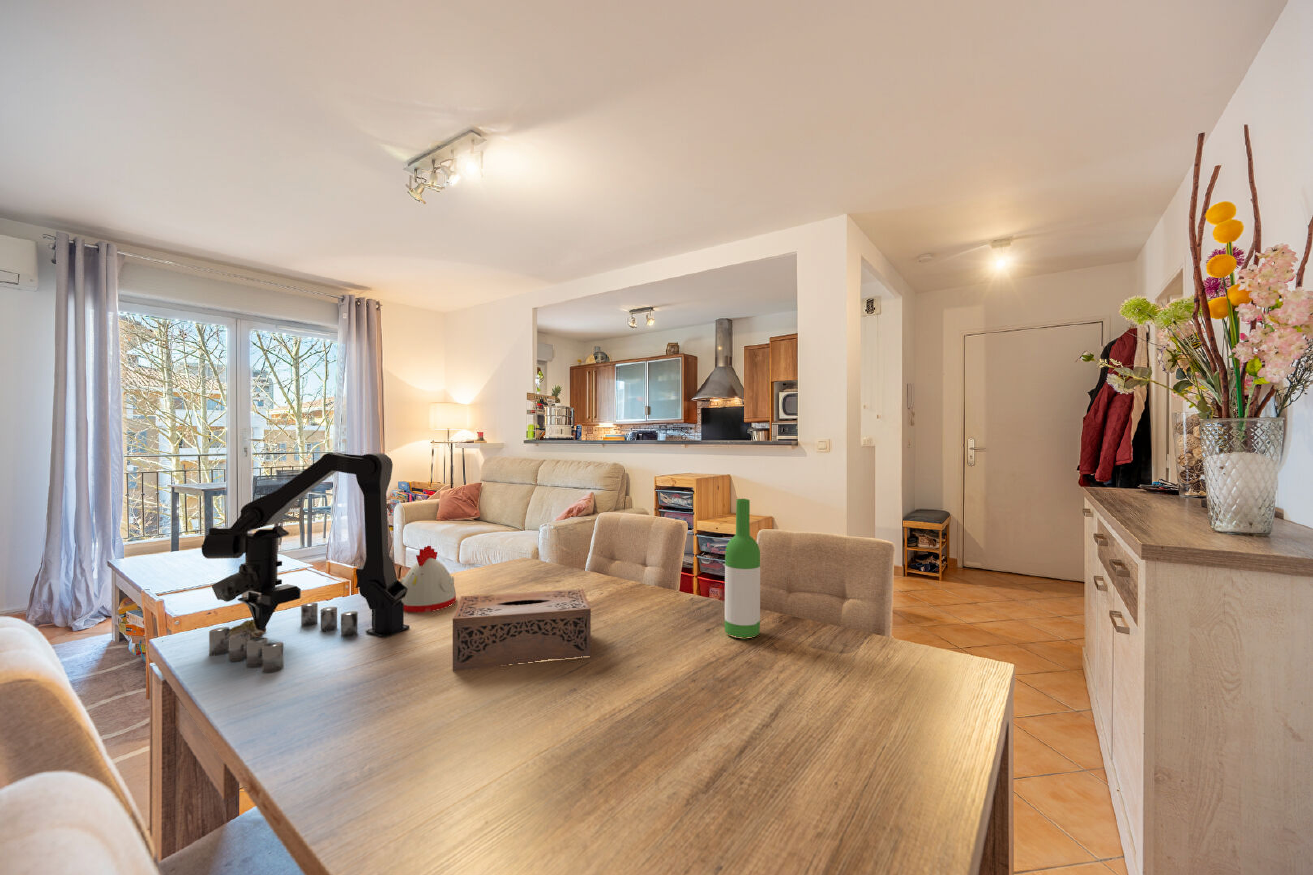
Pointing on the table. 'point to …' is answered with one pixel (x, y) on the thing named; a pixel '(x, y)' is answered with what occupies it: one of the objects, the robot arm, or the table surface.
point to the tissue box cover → (520, 628)
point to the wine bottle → (742, 578)
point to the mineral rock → (248, 629)
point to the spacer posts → (272, 653)
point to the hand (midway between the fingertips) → (260, 629)
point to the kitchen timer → (428, 584)
